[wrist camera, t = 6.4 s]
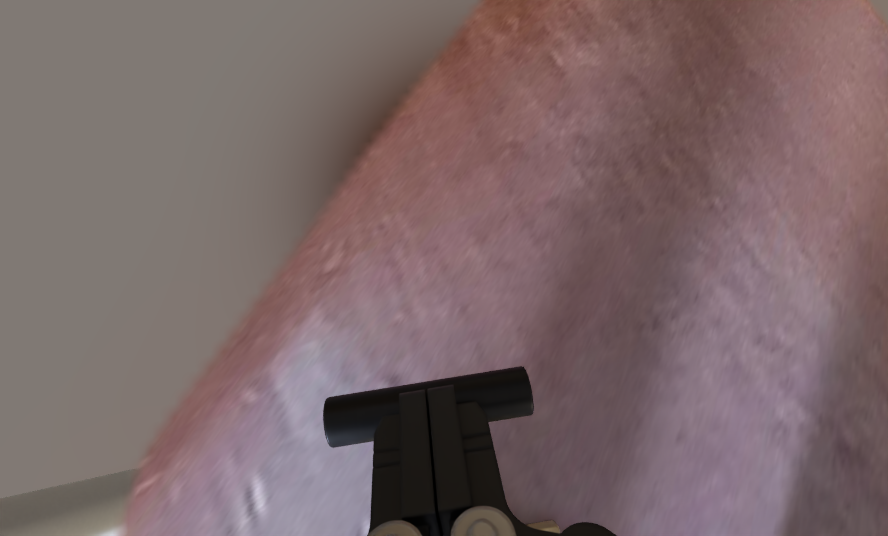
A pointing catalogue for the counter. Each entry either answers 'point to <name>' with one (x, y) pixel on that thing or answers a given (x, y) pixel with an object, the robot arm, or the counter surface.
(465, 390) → the lever
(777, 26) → the counter surface
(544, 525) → the bracket
